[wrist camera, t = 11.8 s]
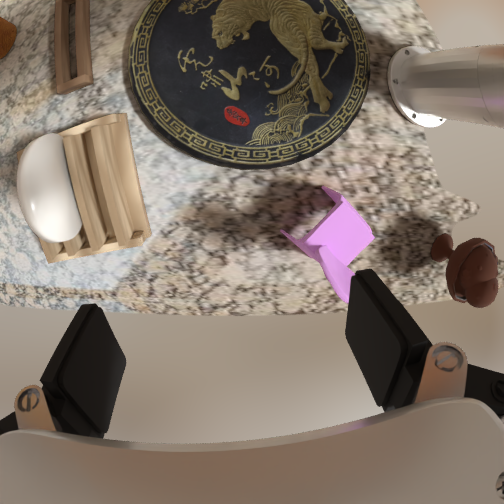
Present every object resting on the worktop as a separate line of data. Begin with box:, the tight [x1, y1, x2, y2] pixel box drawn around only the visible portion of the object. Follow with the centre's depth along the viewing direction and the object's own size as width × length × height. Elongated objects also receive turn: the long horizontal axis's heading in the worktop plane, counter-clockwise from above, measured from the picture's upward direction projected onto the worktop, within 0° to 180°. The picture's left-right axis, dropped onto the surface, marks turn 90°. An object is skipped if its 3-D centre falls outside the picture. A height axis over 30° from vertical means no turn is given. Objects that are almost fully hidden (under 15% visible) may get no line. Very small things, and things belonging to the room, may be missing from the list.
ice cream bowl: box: [431, 233, 498, 308], centre depth 36 cm, size 11×11×15 cm
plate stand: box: [54, 0, 94, 94], centre depth 22 cm, size 4×15×2 cm, turn 7°
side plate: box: [17, 133, 83, 243], centre depth 25 cm, size 2×12×12 cm
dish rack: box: [17, 113, 152, 264], centre depth 30 cm, size 16×16×5 cm
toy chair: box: [280, 186, 375, 303], centre depth 31 cm, size 8×9×15 cm
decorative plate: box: [128, 0, 370, 170], centre depth 27 cm, size 30×2×30 cm
